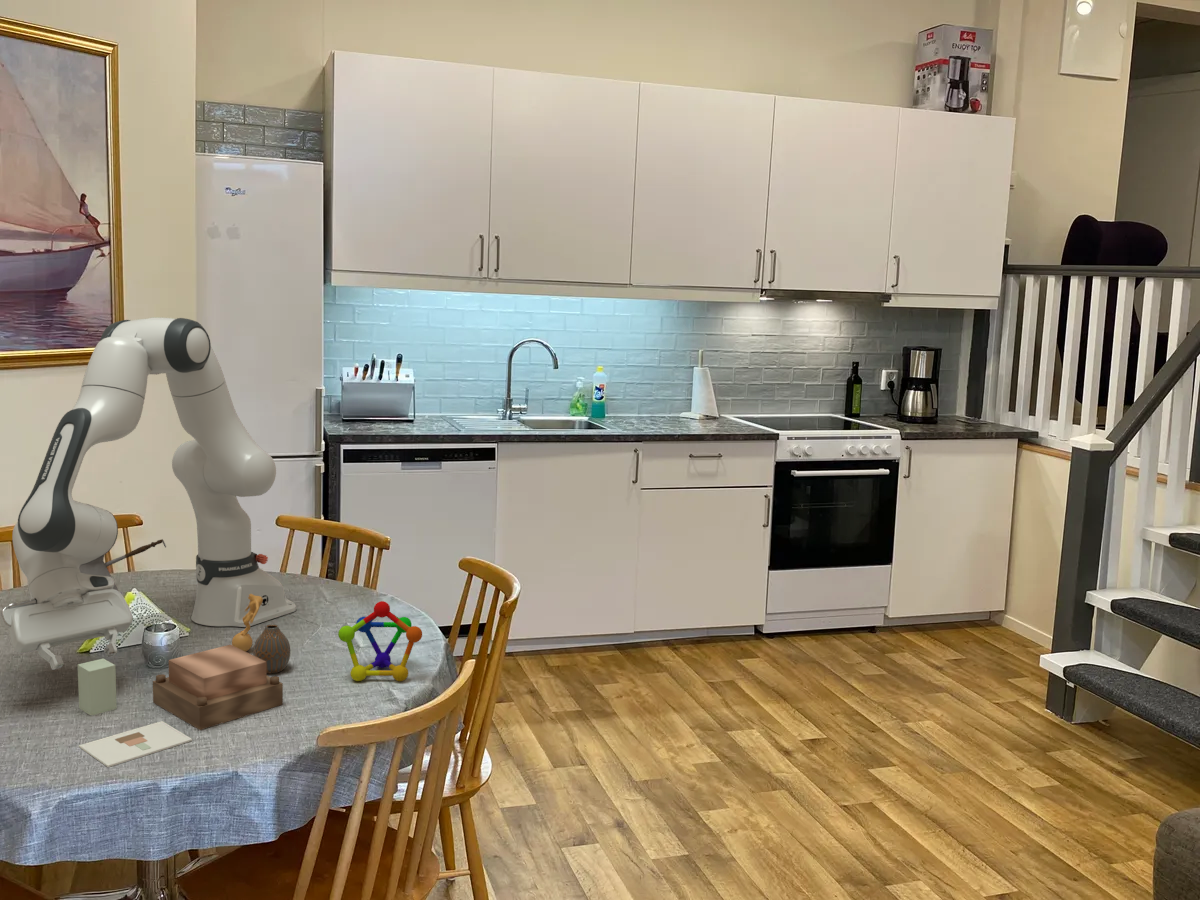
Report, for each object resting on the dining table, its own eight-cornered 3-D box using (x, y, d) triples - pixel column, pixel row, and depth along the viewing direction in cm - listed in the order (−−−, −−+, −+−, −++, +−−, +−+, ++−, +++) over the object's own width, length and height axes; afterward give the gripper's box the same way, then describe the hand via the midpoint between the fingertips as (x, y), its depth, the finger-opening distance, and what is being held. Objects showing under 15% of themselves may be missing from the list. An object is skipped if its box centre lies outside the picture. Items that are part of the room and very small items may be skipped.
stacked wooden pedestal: (234, 679, 207) (234, 639, 206) (282, 704, 197) (282, 662, 195) (153, 702, 195) (152, 659, 194) (199, 730, 185) (199, 684, 183)
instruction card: (162, 722, 187) (162, 720, 187) (192, 740, 180) (192, 738, 180) (79, 747, 176) (78, 744, 176) (107, 767, 170) (107, 764, 170)
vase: (297, 666, 215) (297, 623, 214) (276, 678, 209) (276, 634, 207) (267, 661, 217) (267, 618, 216) (245, 672, 211) (245, 629, 209)
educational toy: (409, 663, 222) (417, 592, 220) (417, 688, 210) (426, 612, 208) (330, 661, 217) (338, 588, 215) (335, 686, 205) (343, 609, 203)
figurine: (229, 645, 225) (229, 589, 223) (260, 643, 227) (259, 587, 225) (234, 659, 217) (233, 601, 215) (265, 656, 220) (265, 598, 218)
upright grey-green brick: (104, 701, 195) (103, 658, 193) (116, 708, 192) (115, 665, 190) (79, 708, 191) (77, 664, 190) (90, 715, 188) (89, 671, 187)
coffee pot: (62, 618, 237) (59, 551, 234) (64, 602, 247) (62, 538, 244) (168, 610, 245) (166, 545, 242) (166, 595, 255) (165, 533, 253)
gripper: (2, 596, 187) (28, 666, 183) (120, 575, 203) (147, 639, 198) (-7, 615, 191) (18, 684, 186) (110, 593, 206) (135, 656, 201)
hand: (85, 661), depth 192 cm, fingers open, 8 cm apart
